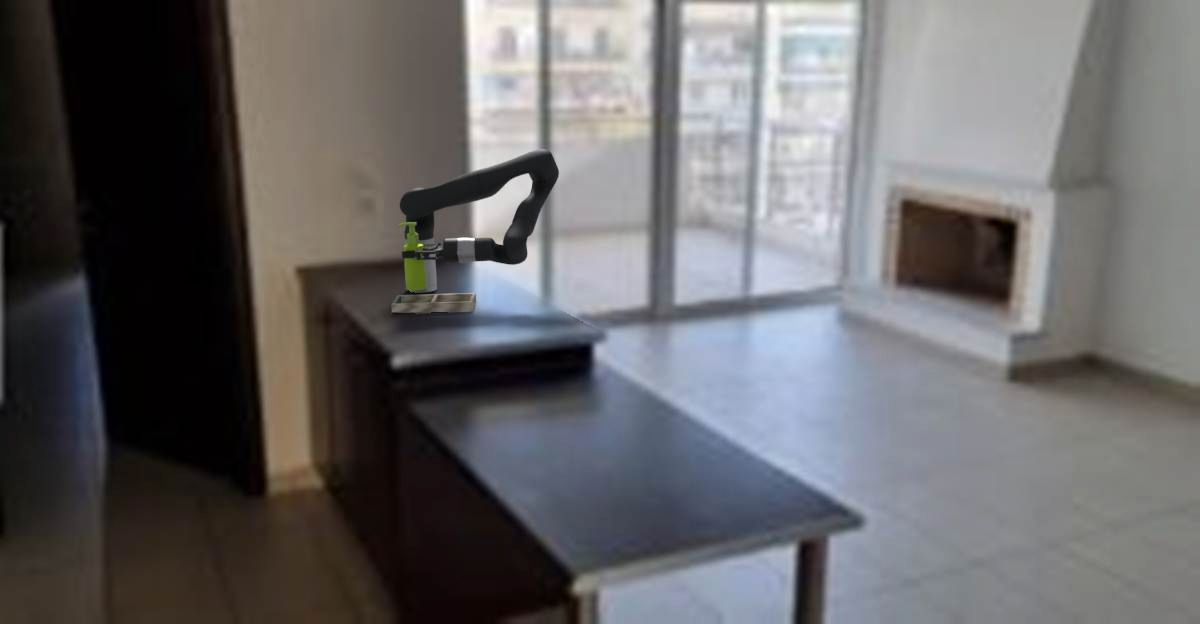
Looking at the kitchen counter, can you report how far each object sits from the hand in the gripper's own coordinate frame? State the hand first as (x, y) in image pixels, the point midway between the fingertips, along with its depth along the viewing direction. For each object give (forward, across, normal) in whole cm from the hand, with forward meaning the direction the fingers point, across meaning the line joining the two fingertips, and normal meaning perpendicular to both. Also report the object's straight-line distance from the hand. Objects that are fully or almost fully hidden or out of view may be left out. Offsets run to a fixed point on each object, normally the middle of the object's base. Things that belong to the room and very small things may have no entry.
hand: (404, 252), depth 311 cm
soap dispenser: (-2, 0, +11) cm, 11 cm away
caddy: (-8, 0, +17) cm, 19 cm away
